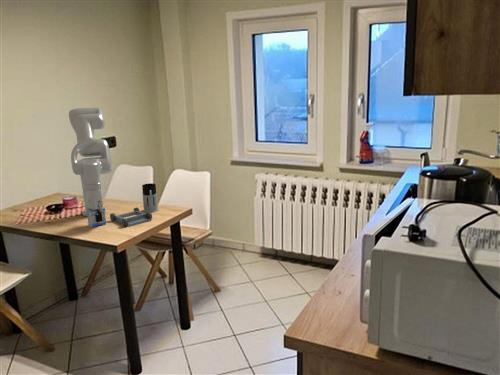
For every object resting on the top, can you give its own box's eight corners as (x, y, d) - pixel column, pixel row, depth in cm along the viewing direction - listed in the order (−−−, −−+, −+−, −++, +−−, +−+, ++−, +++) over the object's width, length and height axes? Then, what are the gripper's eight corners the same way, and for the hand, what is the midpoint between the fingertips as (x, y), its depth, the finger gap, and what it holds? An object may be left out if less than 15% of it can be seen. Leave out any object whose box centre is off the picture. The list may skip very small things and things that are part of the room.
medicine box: (91, 227, 213) (89, 211, 211) (88, 225, 217) (86, 209, 214) (106, 223, 218) (104, 208, 216) (103, 221, 222) (101, 206, 219)
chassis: (110, 220, 224) (109, 213, 223) (136, 213, 235) (135, 206, 234) (126, 227, 213) (125, 219, 212) (152, 220, 223) (151, 212, 222)
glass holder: (157, 207, 246) (155, 182, 242) (160, 214, 233) (158, 188, 229) (142, 209, 243) (140, 184, 240) (144, 216, 230) (142, 189, 227)
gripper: (78, 185, 216) (82, 218, 220) (93, 190, 204) (97, 226, 208) (92, 182, 221) (96, 215, 225) (107, 187, 209) (111, 222, 214)
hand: (96, 220), depth 217 cm, fingers closed on medicine box, 4 cm apart
